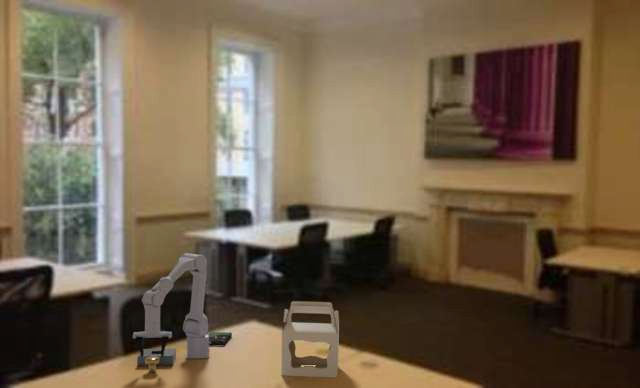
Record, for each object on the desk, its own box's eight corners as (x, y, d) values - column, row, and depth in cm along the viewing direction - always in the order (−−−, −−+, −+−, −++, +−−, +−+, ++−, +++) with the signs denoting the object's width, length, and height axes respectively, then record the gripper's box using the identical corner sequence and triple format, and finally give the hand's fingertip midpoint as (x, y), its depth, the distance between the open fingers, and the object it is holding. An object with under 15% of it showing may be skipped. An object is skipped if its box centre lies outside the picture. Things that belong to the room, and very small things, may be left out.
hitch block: (175, 357, 250) (175, 348, 250) (172, 365, 240) (172, 355, 240) (141, 358, 249) (141, 349, 248) (137, 366, 239) (137, 356, 239)
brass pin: (160, 369, 236) (160, 356, 236) (158, 374, 230) (158, 360, 230) (146, 369, 235) (146, 356, 235) (143, 374, 230) (143, 361, 229)
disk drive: (224, 347, 268) (231, 337, 283) (224, 341, 268) (232, 332, 283) (201, 346, 269) (210, 337, 284) (201, 340, 269) (210, 331, 284)
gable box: (280, 375, 231) (281, 304, 230) (284, 364, 244) (285, 297, 243) (337, 378, 229) (338, 306, 228) (338, 366, 243) (340, 299, 241)
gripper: (131, 324, 227) (131, 359, 227) (170, 323, 229) (169, 358, 229) (135, 319, 234) (134, 353, 234) (172, 319, 236) (172, 353, 236)
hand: (152, 355), depth 232 cm, fingers open, 7 cm apart
